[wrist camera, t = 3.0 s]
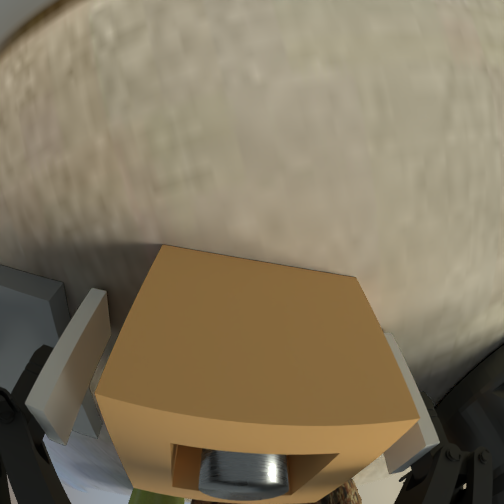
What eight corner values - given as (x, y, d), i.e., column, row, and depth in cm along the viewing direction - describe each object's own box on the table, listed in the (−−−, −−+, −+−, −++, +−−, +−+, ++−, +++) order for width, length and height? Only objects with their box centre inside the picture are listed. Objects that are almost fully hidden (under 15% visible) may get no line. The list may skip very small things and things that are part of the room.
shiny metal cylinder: (281, 317, 13) (301, 480, 7) (267, 358, 15) (275, 501, 8) (218, 308, 13) (201, 475, 6) (211, 350, 14) (196, 496, 8)
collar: (356, 277, 12) (420, 418, 6) (300, 391, 16) (315, 502, 10) (162, 244, 12) (94, 393, 5) (159, 373, 15) (133, 487, 9)
